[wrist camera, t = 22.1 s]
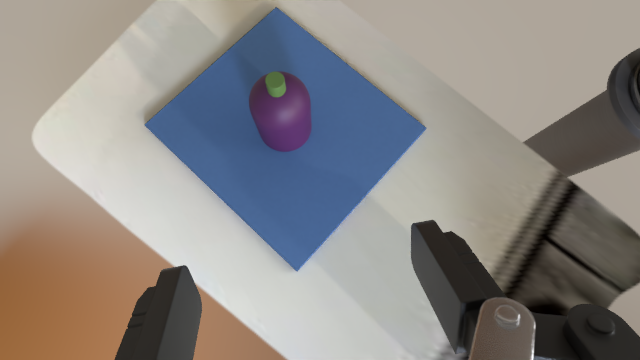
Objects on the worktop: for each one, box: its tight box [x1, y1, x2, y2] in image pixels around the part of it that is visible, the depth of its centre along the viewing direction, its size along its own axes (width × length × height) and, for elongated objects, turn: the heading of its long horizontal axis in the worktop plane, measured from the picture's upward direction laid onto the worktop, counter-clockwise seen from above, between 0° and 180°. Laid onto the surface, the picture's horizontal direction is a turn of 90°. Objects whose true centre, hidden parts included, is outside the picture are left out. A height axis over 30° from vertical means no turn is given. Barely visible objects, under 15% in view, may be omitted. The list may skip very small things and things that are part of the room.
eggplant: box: [249, 71, 312, 152], centre depth 30 cm, size 5×5×9 cm
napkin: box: [145, 7, 426, 271], centre depth 34 cm, size 20×18×1 cm
